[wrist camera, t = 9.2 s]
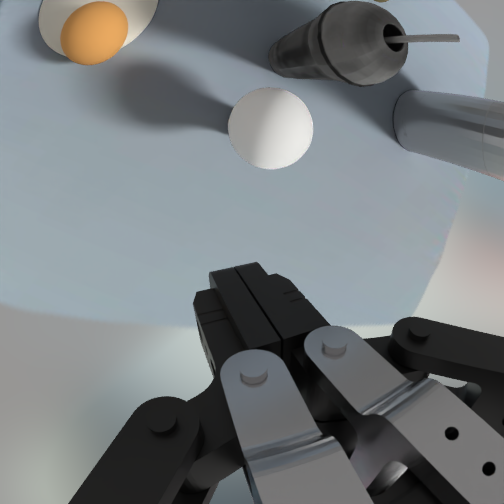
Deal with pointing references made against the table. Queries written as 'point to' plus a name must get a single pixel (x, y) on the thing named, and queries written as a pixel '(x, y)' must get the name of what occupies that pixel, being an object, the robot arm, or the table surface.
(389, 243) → the table surface
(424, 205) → the table surface
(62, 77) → the table surface
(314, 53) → the beverage cup
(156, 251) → the table surface
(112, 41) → the ball
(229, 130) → the light bulb
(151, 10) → the plate
